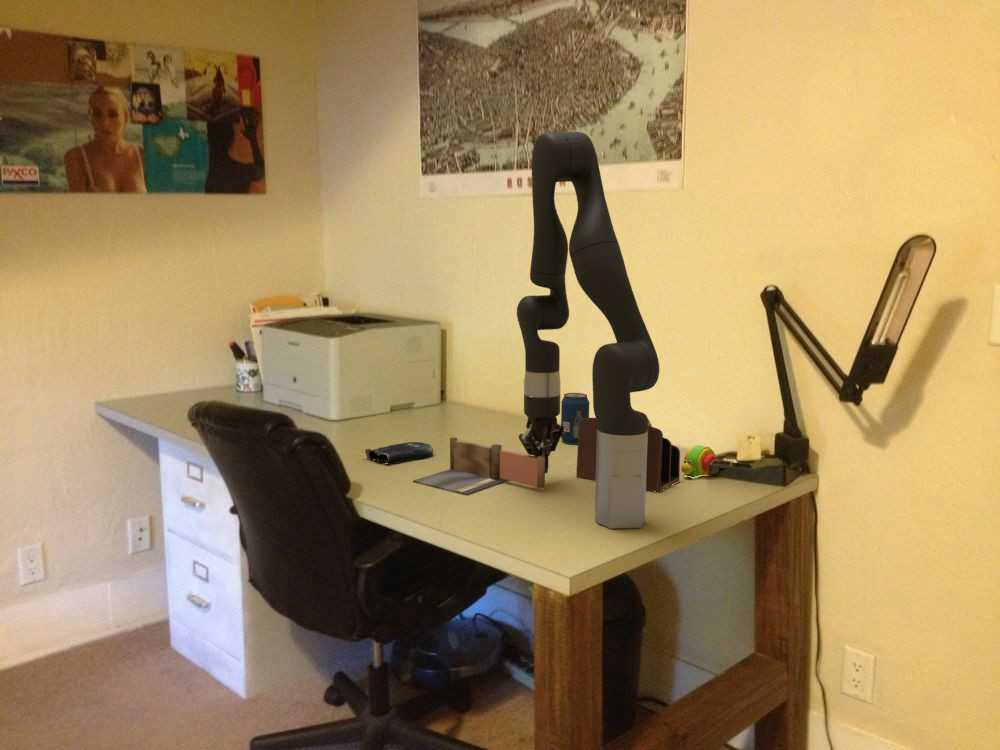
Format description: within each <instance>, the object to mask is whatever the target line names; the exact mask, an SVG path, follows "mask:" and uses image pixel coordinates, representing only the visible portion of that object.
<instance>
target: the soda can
mask: <svg viewBox="0 0 1000 750" xmlns="http://www.w3.org/2000/svg"><path fill="white" fill-rule="evenodd" d="M560 414H561V415H560V421H561V422H560V425H561V426H564V430H563V433H562V435H561V437H560V439H562V442H563V443H564V444H567V445H574V444H578V426H579V421H580V419H582V418H590V401H589V399H588V394H586V393H582V392H581V393H580V392H567V393H564V394H563V397H562V399H561V401H560Z"/></svg>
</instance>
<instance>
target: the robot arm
mask: <svg viewBox="0 0 1000 750" xmlns="http://www.w3.org/2000/svg"><path fill="white" fill-rule="evenodd" d="M597 156H598V155H597V152H596V149H595V146H594V143H593V141H592V139H591V138H590V137H589V135H588V134H586V133H584V132H582V131H581V132H580V131H546V132H543V133H541V134H539V136H537V138H536V139H535V141H534V144H533V147H532V154H531V189H532V190H531V191H532V212H533V240H532V241H533V243H532V249H531V250H532V251H531V252H532V253H531V259H530V260H531V261H530V270H529V279H530V281H531V283H532V284H533V285H535V286H536V287H540V288H545V289H548V290H549V294H546V295H545V294H544V295H543V294H542V295H526V296H523V297H522V298H521V299H520V301H519V302H518V304H517V308H516V318H517V321H518V326H519V328H520V332H521V336H522V340H523V345H524V353H525V355H524V357H525V358H524V360H525V363H524V364H525V365H524V367H525V370H524V371H525V373H524V378H523V379H524V380H523V413H524V415H525V416H526V418H527V421H526V426H525V427H526V430H525V432H524V433H520V434H519V435H518V440H519V441H520V442H521V444H522V446H523V448H524V450H525V451H526V453H527V455H531V456H535V457H538V456H545V475H546V474H547V473H549V471H548V470H549V457H550V455H551V453H552V452H555V451H556V449H557V446H558V444H559V442H560V439H561V435H562V433H563V430H564V426H561V424H559V423H558V419H557V417H558V416H559V415H560V414H561V373H560V365H561V364H560V356H561V355H560V353H561V352H560V345H559V344H558V343H556V342H554V341H552V340H551V341H550V340H545V339H541V337H540V335H539V331H545V330H547V331H548V330H550V331H551V330H560V329H563V328H564V327H565V326H566V325H567V323H568V320H569V317H570V308H569V301H568V297H567V290H566V289H567V286H566V271H567V263H568V255H569V256H570V257H569V258H570V260H571V264H572V267H573V271H574V275H575V277H576V278H575V279H576V280H577V283H578V285H579V287H580V288H581V289H582V291H583V292H584V294H585V295H586V297H588V299H590V300H591V302H592V303H593V304H594V305H595V306H596V307H597V308H598V309H599V310H600V312H601V313H602V314H603V315H604V317H605V318H606V320H607V321H608V323H609V325H610V328H611V329H612V332H613V335H614V338H615V341H616V342H612V343H606V344H602V346H600V347H598V349H597V351H596V352H595V354H594V357H593V361H592V371H591V372H592V375H591V376H592V377H591V378H592V379H591V380H592V381H591V382H592V407H593V412H594V413H593V414H594V416H595V417H594V418H596V420H597V445H596V481H595V486H594V487H595V491H594V492H595V494H594V496H595V497H594V499H595V500H594V520H595V522H596V523H597V524H599V525H602V526H604V527H607V528H608V529H609V530H610V529H635V528H636V529H637V528H638V529H641V528H643V525H644V524H645V522H646V499H647V497H646V496H647V494H646V493H647V491H646V472H647V443H648V420H649V418H648V415H646V413H644V412H642V411H639V410H636V409H633V407H632V404H631V393H637V392H643V391H648V390H650V389H653V387H655V385H656V384H657V382H658V380H659V377H660V376H659V375H660V362H659V357H658V354H657V351H656V348H655V345H654V342H653V340H652V338H651V335H650V333H649V331H648V329H647V326H646V324H645V321H644V318H643V317H642V314H641V311H640V308H639V306H638V303H637V300H636V297H635V295H634V291H633V288H632V285H631V282H630V278H629V275H628V272H627V268H626V265H625V264H626V263H625V261H624V257H623V254H622V250H621V246H620V244H619V240H618V239H617V236H616V232H615V228H614V226H613V222H612V219H611V216H610V210H609V207H608V203H607V200H606V196H605V191H604V187H603V180H602V176H601V171H600V167H599V166H600V165H599V161H598V157H597ZM564 182H565V183H566V182H567V183H569V182H571V183H572V186H573V188H574V190H575V195H576V203H577V213H576V218H575V220H574V221H575V222H574V224H573V227H572V231H571V234H570V237H569V241H568V238H567V237H568V236H567V233H566V231H565V228H564V225H563V224H562V222H561V220H560V216H559V214H558V211H557V208H556V203H555V202H556V201H555V191H556V185H557V183H564ZM568 242H569V243H568Z"/></svg>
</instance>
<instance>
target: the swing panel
mask: <svg viewBox="0 0 1000 750" xmlns="http://www.w3.org/2000/svg"><path fill="white" fill-rule="evenodd" d="M500 478H502V479H506V480H509V482H510V481H511V482H514V483H517V484H521V485H525V486H530V487H534V488H538V489H545V488H546V487H545V486H546V474H545V456H538V457H535V456H534V455H529V454H526V453H521V452H517V451H513V450H509V449H502V450H500Z"/></svg>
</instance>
